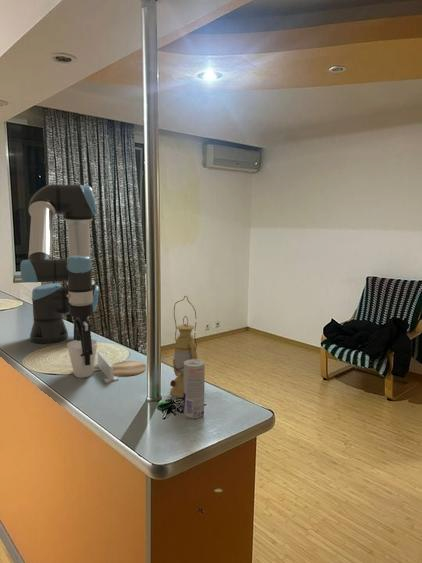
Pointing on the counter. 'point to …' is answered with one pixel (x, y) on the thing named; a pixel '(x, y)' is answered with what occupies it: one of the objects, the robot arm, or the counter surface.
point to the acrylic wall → (106, 368)
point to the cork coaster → (128, 368)
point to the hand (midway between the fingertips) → (83, 368)
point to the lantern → (182, 355)
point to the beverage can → (194, 388)
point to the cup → (80, 357)
